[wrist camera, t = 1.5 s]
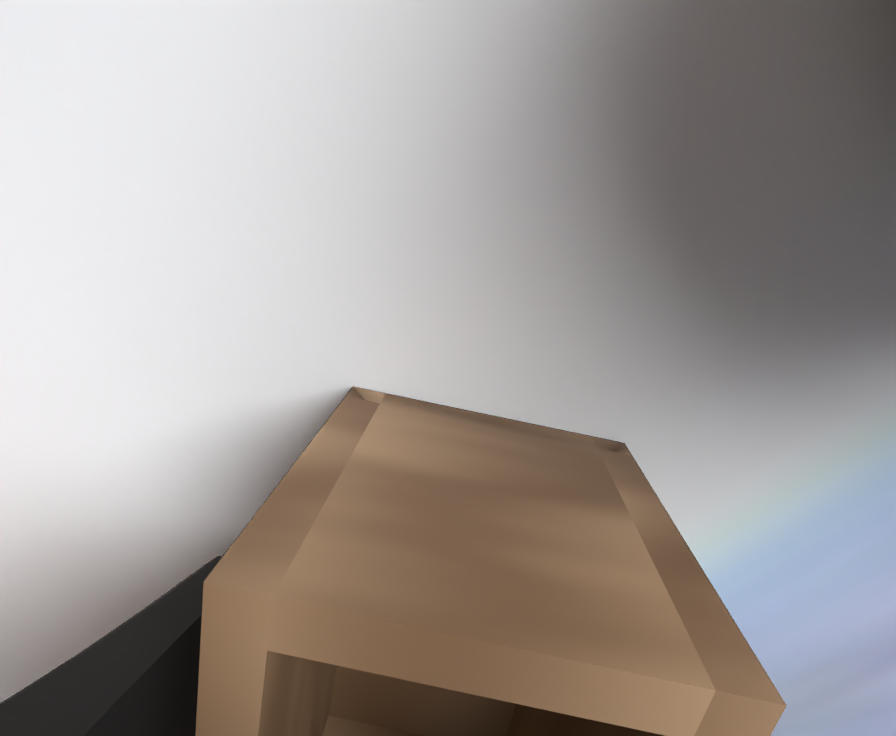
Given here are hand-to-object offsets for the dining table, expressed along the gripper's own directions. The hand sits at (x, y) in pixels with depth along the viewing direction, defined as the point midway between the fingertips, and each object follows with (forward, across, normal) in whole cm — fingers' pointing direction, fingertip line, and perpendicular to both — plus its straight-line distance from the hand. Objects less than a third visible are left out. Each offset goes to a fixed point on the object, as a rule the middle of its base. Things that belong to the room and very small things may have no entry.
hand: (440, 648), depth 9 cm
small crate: (+1, 0, 0) cm, 1 cm away
